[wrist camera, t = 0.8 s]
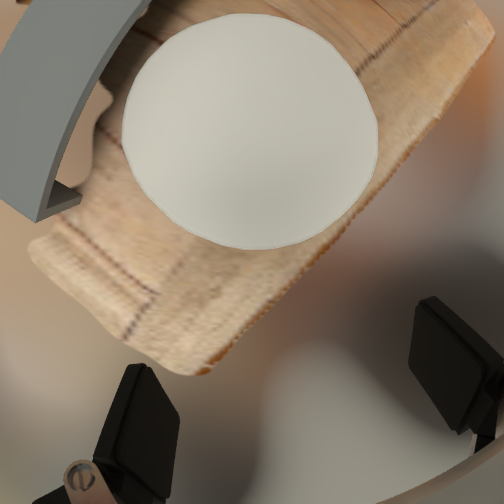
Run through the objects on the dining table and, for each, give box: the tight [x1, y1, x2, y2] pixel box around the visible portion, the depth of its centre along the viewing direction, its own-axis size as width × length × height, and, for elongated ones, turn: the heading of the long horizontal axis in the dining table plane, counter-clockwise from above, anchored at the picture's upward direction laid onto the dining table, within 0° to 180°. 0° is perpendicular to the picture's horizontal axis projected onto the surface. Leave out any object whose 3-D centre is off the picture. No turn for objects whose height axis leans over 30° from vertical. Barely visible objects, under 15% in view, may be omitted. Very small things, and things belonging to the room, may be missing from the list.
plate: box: [121, 14, 378, 250], centre depth 27 cm, size 28×6×27 cm
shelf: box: [0, 0, 152, 223], centre depth 20 cm, size 36×16×10 cm, turn 150°
